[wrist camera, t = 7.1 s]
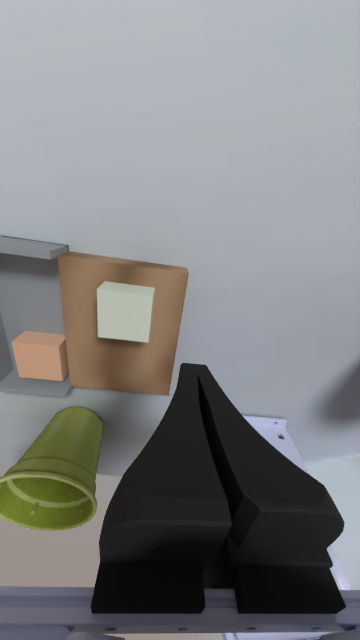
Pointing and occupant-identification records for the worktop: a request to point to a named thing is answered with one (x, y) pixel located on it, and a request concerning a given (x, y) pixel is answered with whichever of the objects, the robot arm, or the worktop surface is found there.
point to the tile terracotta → (41, 355)
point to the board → (114, 354)
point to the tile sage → (125, 311)
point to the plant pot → (55, 475)
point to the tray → (29, 308)
